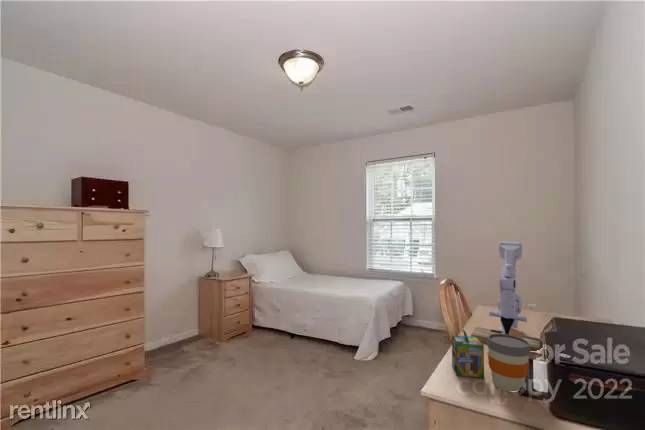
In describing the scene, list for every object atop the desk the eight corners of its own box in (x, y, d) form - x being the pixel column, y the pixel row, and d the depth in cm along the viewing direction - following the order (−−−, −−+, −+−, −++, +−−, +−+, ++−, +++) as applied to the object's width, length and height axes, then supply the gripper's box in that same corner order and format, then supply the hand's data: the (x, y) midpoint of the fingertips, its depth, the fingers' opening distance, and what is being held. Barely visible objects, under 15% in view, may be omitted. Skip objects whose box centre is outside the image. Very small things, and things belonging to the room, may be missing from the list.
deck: (476, 331, 156) (476, 320, 156) (542, 344, 141) (542, 332, 141) (471, 339, 146) (471, 327, 146) (542, 355, 130) (542, 341, 130)
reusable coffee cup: (537, 388, 104) (537, 342, 105) (518, 400, 98) (518, 351, 98) (498, 372, 115) (499, 330, 115) (479, 381, 108) (479, 337, 108)
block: (511, 336, 144) (511, 327, 144) (521, 338, 141) (522, 329, 141) (510, 338, 140) (510, 329, 140) (520, 341, 138) (521, 331, 138)
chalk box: (484, 379, 110) (484, 336, 110) (456, 376, 112) (456, 334, 112) (477, 366, 119) (477, 327, 119) (451, 364, 121) (451, 325, 121)
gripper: (488, 303, 144) (487, 333, 144) (526, 309, 135) (525, 341, 135) (490, 300, 150) (490, 329, 150) (527, 305, 141) (526, 336, 141)
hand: (507, 334), depth 143 cm, fingers closed
